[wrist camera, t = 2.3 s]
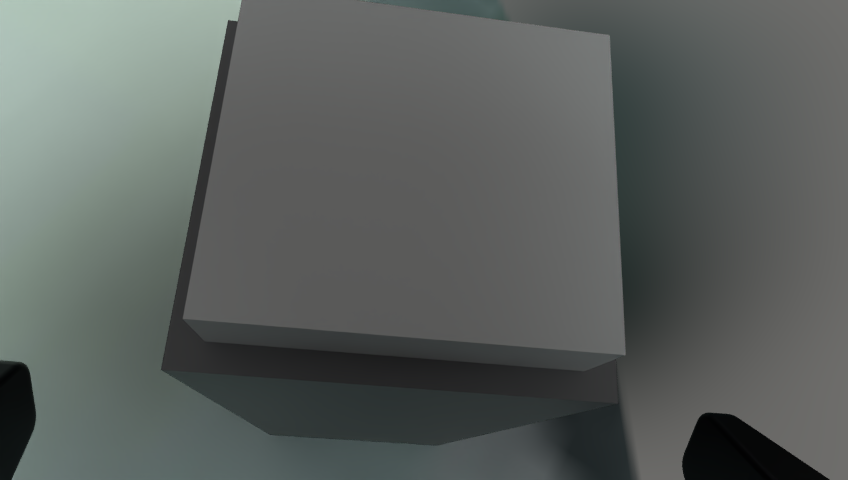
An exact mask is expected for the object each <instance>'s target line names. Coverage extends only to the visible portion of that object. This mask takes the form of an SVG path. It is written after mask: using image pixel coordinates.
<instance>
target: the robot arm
mask: <svg viewBox="0 0 848 480" xmlns="http://www.w3.org/2000/svg"><path fill="white" fill-rule="evenodd" d="M35 421H36V409H35V403H34V396H33V390H32V383H31V377H30V372H29V369H28V367H27V365H25V364H24V363H22V362H15V361H2V360H0V480H11V479H12V477H13V475H14V473H15V471H16V468H17V466H18V464H19V462H20V459H21V457H22V455H23V453H24V451H25V448H26V446H27V444H28V442H29V439H30V437H31V435H32V432H33V430H34V426H35ZM682 467H683V474H684V478H685V480H829V479H828V478H826V477H825V476H823V475H822V474H821V473H819V472H818V471H816V470H815V469H813V468H812V467H810V466H809V465H807V464H806V463H804V462H803V461H801V460H799V459H798V458H797V457H795V456H794V455H792V454H791V453H789V452H788V451H786V450H785V449H783V448H782V447H780V446H779V445H777V444H776V443H775V442H773V441H772V440H770V439H768V438H767V437H766V436H764V435H763V434H761V433H759V432H758V431H757V430H755V429H754V428H752V427H751V426H749V425H748V424H746V423H745V422H743V421H742V420H740V419H739V418H737V417H736V416H734V415H730V414H722V413H705V414H703V415H701V416H700V417H699V419H698V421H697V423H696V426H695V428H694V430H693V433H692V435H691V438H690V441H689V443H688V445H687V448H686V450H685V453H684V456H683V461H682Z"/></svg>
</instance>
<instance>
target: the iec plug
mask: <svg viewBox="0 0 848 480" xmlns="http://www.w3.org/2000/svg"><path fill="white" fill-rule="evenodd" d="M612 93H613V92H612V73H611V53H610V36H609V35H604V34H597V33H589V32H582V31H575V30H568V29H561V28H553V27H546V26H538V25H532V24H524V23H517V22H510V21H503V20H496V19H488V18H481V17H474V16H467V15H459V14H452V13H445V12H438V11H430V10H423V9H416V8H409V7H402V6H394V5H387V4H380V3H373V2H365V1H358V0H242V2H241V8H240V13H239V18H238V21H230V20H228V24H227V29H226V34H225V40H224V45H223V50H222V55H221V61H220V66H219V71H218V76H217V81H216V87H215V92H214V97H213V102H212V107H211V113H210V118H209V123H208V128H207V133H206V139H205V144H204V149H203V154H202V159H201V165H200V170H199V175H198V180H197V185H196V191H195V196H194V201H193V206H192V212H191V217H190V222H189V227H188V232H187V238H186V243H185V248H184V253H183V258H182V264H181V269H180V274H179V279H178V284H177V290H176V295H175V300H174V305H173V310H172V316H171V321H170V326H169V331H168V337H167V342H166V347H165V352H164V357H163V363H162V368H161V370H162V371H164V372H165V373H167V374H169V375H170V376H172V377H174V378H175V379H177V380H179V381H180V382H182V383H184V384H186V385H187V386H189V387H191V388H192V389H194V390H196V391H197V392H199V393H201V394H202V395H204V396H206V397H207V398H209V399H211V400H212V401H214V402H216V403H217V404H219V405H221V406H223V407H224V408H226V409H228V410H229V411H231V412H233V413H234V414H236V415H238V416H239V417H241V418H243V419H244V420H246V421H248V422H249V423H251V424H253V425H255V426H256V427H258V428H260V429H261V430H263V431H265V432H266V433H268V434H270V435H282V436H298V437H313V438H329V439H344V440H360V441H376V442H391V443H407V444H422V445H441V444H445V443H449V442H454V441H458V440H462V439H467V438H471V437H475V436H480V435H484V434H488V433H493V432H497V431H501V430H506V429H510V428H514V427H519V426H523V425H527V424H532V423H536V422H541V421H545V420H549V419H554V418H558V417H562V416H567V415H571V414H575V413H580V412H584V411H588V410H593V409H597V408H601V407H606V406H610V405H614V404H618V386H617V364H616V359H617V358H620V357H622V356H625V355H626V348H625V330H624V329H625V328H624V311H623V310H624V309H623V290H622V269H621V250H620V230H619V212H618V191H617V171H616V151H615V132H614V112H613V94H612Z"/></svg>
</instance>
